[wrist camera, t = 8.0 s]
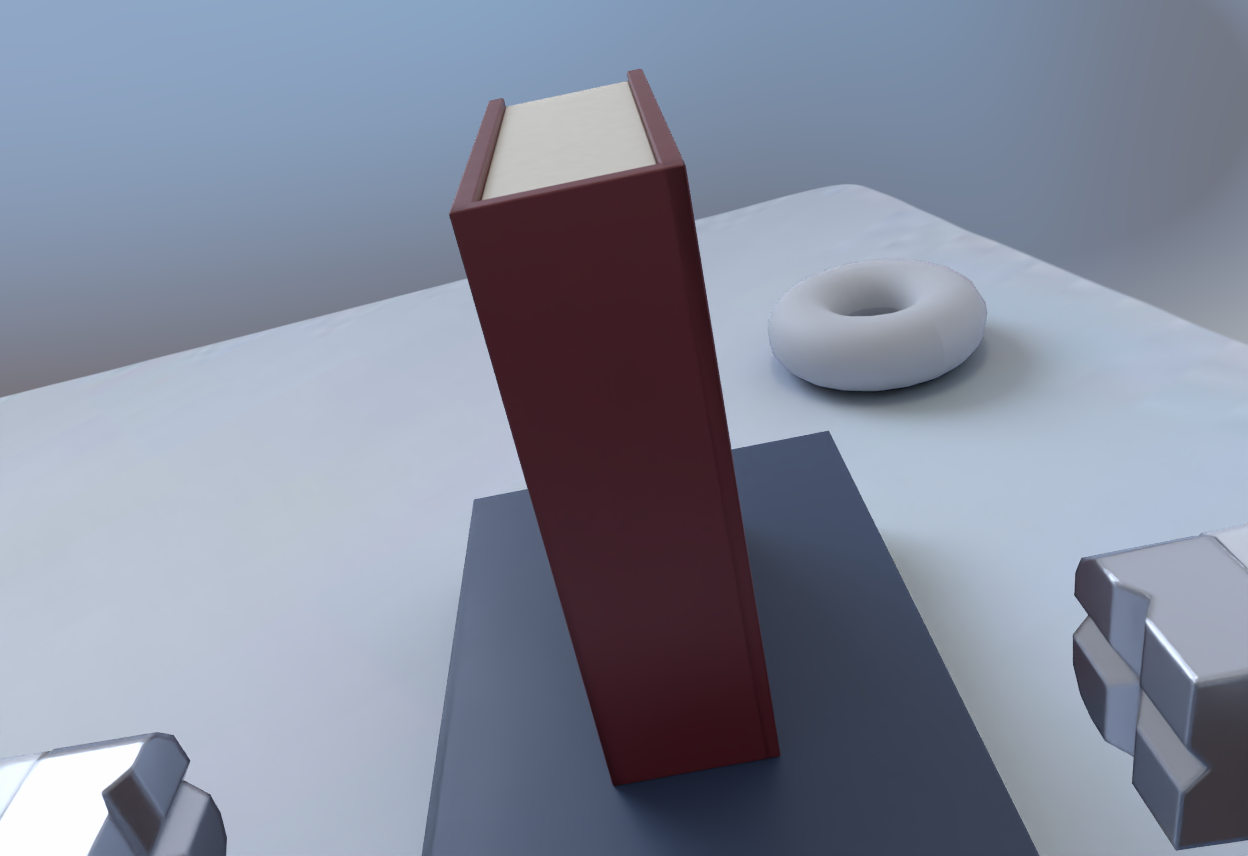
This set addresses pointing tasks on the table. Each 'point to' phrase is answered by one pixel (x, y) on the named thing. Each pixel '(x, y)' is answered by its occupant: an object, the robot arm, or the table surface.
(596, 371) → the burgundy book
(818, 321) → the donut
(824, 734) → the slate book
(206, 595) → the table surface
